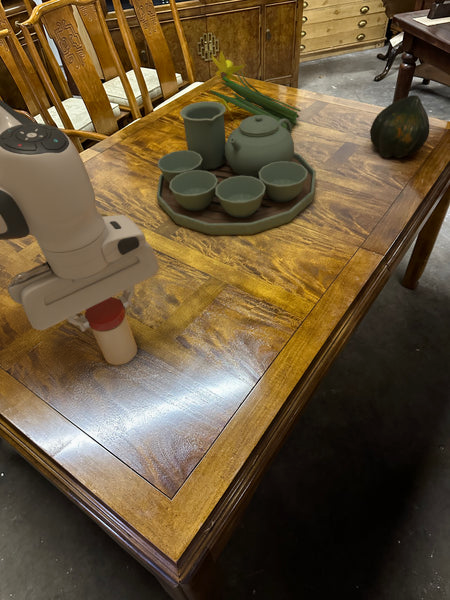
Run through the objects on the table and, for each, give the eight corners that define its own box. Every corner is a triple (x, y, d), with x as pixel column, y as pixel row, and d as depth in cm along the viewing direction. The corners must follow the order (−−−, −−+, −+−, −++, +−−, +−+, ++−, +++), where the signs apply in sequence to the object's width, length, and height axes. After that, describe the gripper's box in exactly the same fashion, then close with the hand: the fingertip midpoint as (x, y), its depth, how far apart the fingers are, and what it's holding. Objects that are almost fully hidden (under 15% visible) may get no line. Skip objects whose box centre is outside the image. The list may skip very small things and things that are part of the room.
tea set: (129, 219, 102) (111, 155, 90) (204, 146, 126) (197, 88, 114) (284, 255, 88) (286, 185, 76) (335, 165, 112) (342, 102, 100)
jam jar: (102, 368, 71) (84, 329, 64) (106, 342, 75) (89, 302, 68) (136, 364, 71) (121, 324, 64) (138, 338, 75) (124, 298, 68)
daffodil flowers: (277, 145, 124) (182, 97, 132) (289, 150, 138) (202, 106, 145) (305, 88, 118) (203, 40, 125) (314, 98, 131) (222, 55, 139)
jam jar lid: (132, 318, 66) (129, 312, 65) (96, 337, 64) (93, 330, 63) (116, 297, 70) (113, 291, 68) (81, 314, 67) (78, 308, 66)
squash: (356, 140, 109) (407, 97, 99) (364, 119, 119) (411, 78, 109) (391, 178, 113) (444, 141, 102) (396, 154, 123) (444, 118, 112)
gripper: (7, 295, 51) (50, 362, 61) (154, 230, 58) (171, 299, 68) (-5, 269, 55) (37, 335, 65) (134, 210, 62) (153, 278, 72)
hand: (106, 316), depth 67 cm, fingers closed on jam jar lid, 6 cm apart
